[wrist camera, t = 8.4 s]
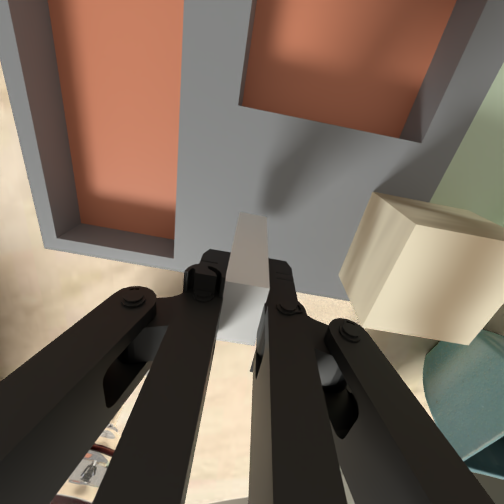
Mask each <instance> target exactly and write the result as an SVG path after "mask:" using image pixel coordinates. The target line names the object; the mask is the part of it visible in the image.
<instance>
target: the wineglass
mask: <svg viewBox="0 0 504 504" xmlns="http://www.w3.org/2000/svg"><path fill="white" fill-rule="evenodd" d="M149 370H150V369H149ZM148 372H149V371H148ZM148 372H147V373H146V375H145V376H144V377H143V378H146V377H147V374H148ZM125 402H126V401H125ZM124 404H125V403H124ZM124 404H123V406H124ZM123 406H122V407H121V408H120V410H119V411H118V412H117V414H116V415H115V416H114V418H113V419H112V420H111V422H110V423H109V424H108V426H107V427H106V428H105V430H104V431H103V432H102V434H101V435H100V436H99V438H98V439H97V440H96V442H95V443H94V445H93V446H92V447H91V449H90V450H89V451H88V453H87V454H86V455H85V457H84V458H83V459H82V461H81V462H80V463H79V465H78V466H77V467H76V469H75V470H74V471H73V473H72V474H71V475H70V477H69V478H68V480H67V481H66V482H65V484H64V485H63V486H62V488H61V489H60V490H59V492H58V493H57V494H56V496H55V497H54V498H53V500H52V501H51V502H50V504H92V502H93V500H94V498H95V495H96V493H97V491H98V488H99V486H100V484H101V481H102V479H103V477H104V474H105V472H106V470H107V467H108V465H109V463H110V460H111V458H112V456H113V453H114V451H115V449H116V446H117V444H118V442H119V439H120V437H121V435H120V434H119V433H118V428H117V426H116V422H117V420H118V418H119V416H120V413H121V411H122V409H123Z"/></svg>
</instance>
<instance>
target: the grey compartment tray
mask: <svg viewBox="0 0 504 504" xmlns="http://www.w3.org/2000/svg"><path fill="white" fill-rule="evenodd" d="M0 61H1V65H2V70H3V74H4V78H5V82H6V86H7V91H8V95H9V99H10V103H11V108H12V112H13V116H14V120H15V125H16V129H17V133H18V137H19V142H20V146H21V150H22V154H23V159H24V163H25V167H26V171H27V176H28V180H29V184H30V188H31V193H32V197H33V201H34V205H35V209H36V214H37V218H38V222H39V226H40V231H41V235H42V239H43V243H44V248H46V249H51V250H57V251H63V252H69V253H74V254H80V255H86V256H92V257H98V258H103V259H109V260H115V261H121V262H126V263H132V264H138V265H144V266H150V267H155V268H161V269H167V270H173V271H178V272H184V271H185V270H186V269H187V268H188V267H189V266H191V265H194V264H199V263H200V261H201V258H202V255H203V253H205V252H206V251H207V250H209V249H214V250H220V251H226V252H231V250H232V245H233V240H234V236H235V231H236V227H237V222H238V218H239V213H240V212H242V213H248V214H253V215H259V216H264V217H267V239H268V258H271V259H276V260H282V261H286V262H287V263H288V264H289V266H290V267H291V268H292V274H293V279H294V284H295V290H296V292H300V293H306V294H311V295H317V296H323V297H329V298H334V299H340V300H346V301H350V300H349V298H348V295H347V293H346V291H345V289H344V286H343V284H342V282H341V280H340V277H339V272H340V270H341V267H342V265H343V262H344V260H345V258H346V255H347V253H348V250H349V248H350V245H351V243H352V241H353V238H354V236H355V233H356V231H357V228H358V226H359V224H360V221H361V219H362V216H363V214H364V211H365V209H366V207H367V204H368V202H369V199H370V197H371V195H372V192H378V193H383V194H388V195H393V196H398V197H403V198H408V199H413V200H419V201H424V202H429V203H434V204H439V205H444V206H449V207H454V208H460V209H465V210H469V211H471V212H473V213H475V214H477V215H479V216H481V217H483V218H485V219H487V220H490V221H492V222H494V223H496V224H498V225H500V226H502V227H504V0H0Z"/></svg>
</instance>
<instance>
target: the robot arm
mask: <svg viewBox="0 0 504 504" xmlns="http://www.w3.org/2000/svg"><path fill="white" fill-rule="evenodd" d="M256 338H257V343H256V351H255V355H254V358H253V362H252V366H251V369H250V372H253V390H252V417H251V445H250V472H249V500H248V504H348V503H347V499H346V494H345V489H344V485H343V480H342V476H341V471H340V468H341V470H342V473H343V475H344V478H345V480H346V483H347V485H348V488H349V490H350V493H351V495H352V498H353V500H354V503H355V504H495V503H494V502H493V500H492V499H491V498H490V496H489V495H488V494H487V492H486V491H485V489H484V488H483V487H482V486H481V484H480V483H479V481H478V480H477V479H476V478H475V476H474V475H473V473H472V472H471V471H470V469H469V468H468V467H467V465H466V464H465V463H464V461H463V460H462V459H461V457H460V456H459V455H458V453H457V452H456V451H455V449H454V448H453V447H452V445H451V444H450V443H449V441H448V440H447V439H446V437H445V436H444V435H443V433H442V432H441V431H440V429H439V428H438V427H437V425H436V424H435V423H434V421H433V420H432V419H431V417H430V416H429V415H428V413H427V412H426V411H425V409H424V408H423V406H422V405H421V404H420V402H419V401H418V400H417V398H416V397H415V396H414V394H413V393H412V392H411V390H410V389H409V388H408V386H407V385H406V384H405V382H404V381H403V380H402V378H401V377H400V376H399V374H398V373H397V372H396V370H395V369H394V368H393V366H392V365H391V364H390V362H389V361H388V360H387V358H386V357H385V356H384V354H383V353H382V352H381V350H380V349H379V348H378V346H377V345H376V344H375V342H374V341H373V340H372V338H371V337H370V336H369V334H368V333H367V332H366V331H365V330H364V329H363V328H362V327H361V326H360V325H358V324H357V323H355V322H353V321H350V320H348V319H342V318H338V319H334V320H332V321H331V322H330V324H329V325H326V324H324V323H321V322H319V321H316V320H314V319H312V318H310V317H309V316H307V314H306V310H305V308H304V306H303V305H302V304H301V303H300V302H298V300H297V295H296V290H295V284H294V279H293V274H292V268H291V267H290V266H289V264H288V263H287V262H286V261H282V260H276V259H271V258H268V239H267V217H264V216H259V215H253V214H248V213H242V212H240V213H239V218H238V222H237V227H236V231H235V236H234V240H233V245H232V250H231V252H226V251H220V250H214V249H209V250H207V251H206V252H205V253H203V255H202V258H201V261H200V263H199V264H194V265H191V266H189V267H188V268H187V269H186V270H185V271H184V285H183V293H182V294H180V295H177V296H174V297H166V298H156V294H155V293H154V292H153V291H152V290H150V289H148V288H146V287H141V286H133V287H127V288H123V289H121V290H119V291H117V292H116V293H114V294H113V295H111V296H110V297H109V298H108V299H106V300H105V301H104V302H102V303H101V304H100V305H99V306H97V307H96V308H95V309H93V310H92V311H91V312H90V313H88V314H87V315H86V316H84V317H83V318H82V319H81V320H79V321H78V322H77V323H75V324H74V325H73V326H72V327H70V328H69V329H68V330H66V331H65V332H64V333H63V334H61V335H60V336H59V337H57V338H56V339H55V340H54V341H52V342H51V343H50V344H48V345H47V346H46V347H44V348H43V349H42V350H41V351H39V352H38V353H37V354H35V355H34V356H33V357H32V358H30V359H29V360H28V361H26V362H25V363H24V364H23V365H21V366H20V367H19V368H17V369H16V370H15V371H14V372H12V373H11V374H10V375H8V376H7V377H6V378H5V379H3V380H2V381H1V382H0V504H50V502H51V501H52V500H53V498H54V497H55V496H56V494H57V493H58V492H59V490H60V489H61V488H62V486H63V485H64V484H65V482H66V481H67V480H68V478H69V477H70V475H71V474H72V473H73V471H74V470H75V469H76V467H77V466H78V465H79V463H80V462H81V461H82V459H83V458H84V457H85V455H86V454H87V453H88V451H89V450H90V449H91V447H92V446H93V445H94V443H95V442H96V440H97V439H98V438H99V436H100V435H101V434H102V432H103V431H104V430H105V428H106V427H107V426H108V424H109V423H110V422H111V420H112V419H113V418H114V416H115V415H116V414H117V412H118V411H119V410H120V408H121V407H122V406H123V404H124V403H125V401H126V400H127V399H128V397H129V396H130V395H131V393H132V392H133V391H134V389H135V388H136V387H137V385H138V384H139V383H140V381H141V380H142V379H143V377H144V376H145V375H146V373H147V372H148V371H149V372H148V374H147V377H146V379H145V381H144V384H143V386H142V388H141V391H140V393H139V395H138V398H137V400H136V402H135V405H134V407H133V409H132V412H131V414H130V416H129V419H128V421H127V423H126V426H125V428H124V430H123V433H122V435H121V437H120V439H119V442H118V444H117V446H116V449H115V451H114V453H113V456H112V458H111V460H110V463H109V465H108V467H107V470H106V472H105V474H104V477H103V479H102V481H101V484H100V486H99V488H98V491H97V493H96V495H95V498H94V500H93V502H92V504H185V498H186V493H187V488H188V483H189V478H190V473H191V468H192V462H193V457H194V452H195V447H196V442H197V437H198V432H199V427H200V421H201V416H202V411H203V406H204V401H205V396H206V391H207V385H208V380H209V375H210V370H211V365H212V360H213V355H214V349H215V343H216V340H220V341H227V342H233V343H240V344H246V345H253V346H255V342H256ZM149 369H150V370H149ZM339 465H340V466H339Z"/></svg>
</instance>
